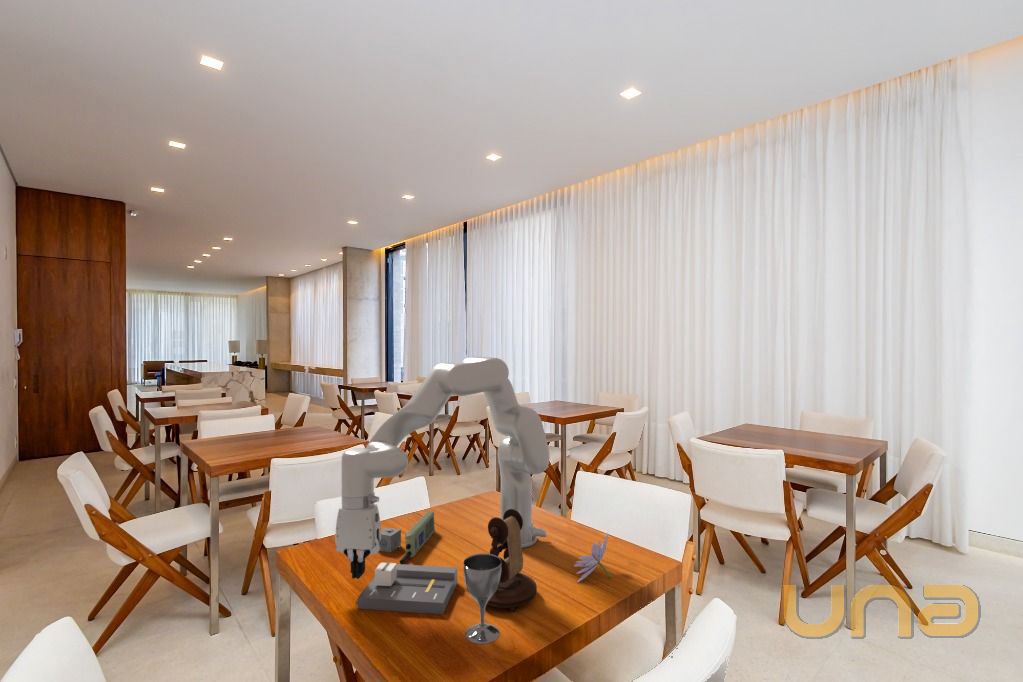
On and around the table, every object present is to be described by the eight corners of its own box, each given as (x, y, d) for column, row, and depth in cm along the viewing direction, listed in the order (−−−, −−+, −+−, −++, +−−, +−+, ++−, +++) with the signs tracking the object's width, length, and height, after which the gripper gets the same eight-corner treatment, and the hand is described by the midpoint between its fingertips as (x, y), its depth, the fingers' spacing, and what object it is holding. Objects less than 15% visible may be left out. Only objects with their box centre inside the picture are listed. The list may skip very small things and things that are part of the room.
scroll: (516, 621, 106) (515, 529, 106) (462, 602, 114) (462, 516, 114) (547, 591, 119) (547, 509, 119) (497, 576, 126) (497, 499, 126)
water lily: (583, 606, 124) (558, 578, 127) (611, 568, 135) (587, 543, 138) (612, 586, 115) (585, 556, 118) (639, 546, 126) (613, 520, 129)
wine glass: (463, 623, 105) (463, 554, 105) (500, 621, 106) (500, 552, 106) (463, 646, 97) (463, 571, 97) (502, 644, 98) (502, 569, 98)
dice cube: (390, 553, 140) (390, 535, 140) (376, 550, 142) (376, 533, 142) (400, 546, 145) (400, 529, 145) (387, 543, 147) (387, 527, 147)
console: (457, 583, 123) (457, 567, 123) (443, 614, 109) (443, 596, 109) (380, 578, 125) (380, 563, 125) (357, 608, 111) (357, 591, 111)
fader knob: (396, 577, 119) (396, 562, 119) (390, 586, 115) (390, 570, 115) (381, 577, 120) (381, 561, 120) (374, 585, 116) (374, 569, 116)
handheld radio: (436, 531, 157) (407, 567, 132) (426, 531, 157) (396, 567, 132) (435, 511, 157) (406, 542, 132) (425, 510, 157) (395, 542, 132)
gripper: (393, 496, 121) (393, 570, 121) (336, 494, 123) (336, 567, 123) (381, 507, 114) (381, 585, 114) (321, 504, 116) (321, 581, 116)
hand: (357, 575), depth 118 cm, fingers closed
